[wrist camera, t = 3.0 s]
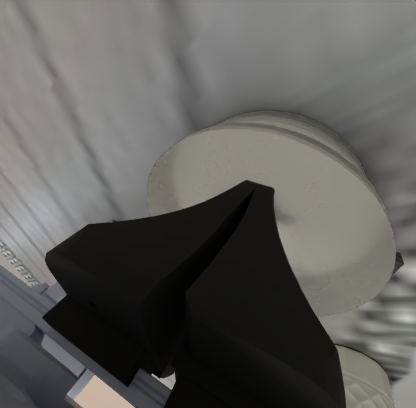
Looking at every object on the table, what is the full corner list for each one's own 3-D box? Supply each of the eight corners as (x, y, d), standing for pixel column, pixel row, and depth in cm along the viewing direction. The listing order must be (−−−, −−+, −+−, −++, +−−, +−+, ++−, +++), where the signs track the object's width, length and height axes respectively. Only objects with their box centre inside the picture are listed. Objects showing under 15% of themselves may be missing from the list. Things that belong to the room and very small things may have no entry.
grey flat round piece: (325, 306, 18) (325, 343, 16) (174, 238, 23) (156, 259, 21) (471, 145, 9) (522, 175, 7) (169, 90, 14) (136, 96, 11)
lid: (317, 325, 15) (314, 357, 14) (166, 253, 19) (151, 272, 18) (502, 173, 6) (556, 221, 4) (139, 97, 10) (104, 109, 9)
